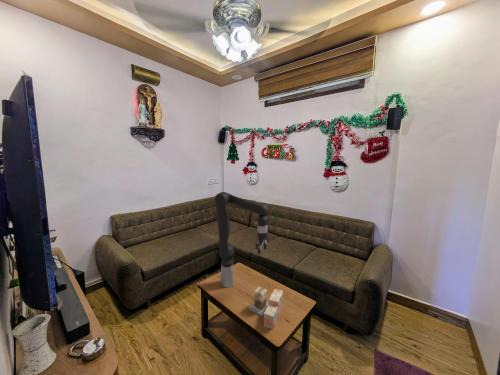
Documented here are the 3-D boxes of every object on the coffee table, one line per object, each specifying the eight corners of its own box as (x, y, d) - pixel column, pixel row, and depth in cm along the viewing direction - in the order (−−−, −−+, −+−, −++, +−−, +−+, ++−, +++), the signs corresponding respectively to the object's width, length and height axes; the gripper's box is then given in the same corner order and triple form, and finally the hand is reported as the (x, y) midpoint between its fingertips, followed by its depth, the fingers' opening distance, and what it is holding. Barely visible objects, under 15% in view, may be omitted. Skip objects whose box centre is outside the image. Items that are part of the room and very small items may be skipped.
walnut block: (254, 306, 142) (254, 298, 141) (258, 301, 147) (259, 293, 146) (261, 310, 139) (261, 302, 138) (266, 305, 144) (266, 297, 142)
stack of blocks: (273, 330, 125) (273, 312, 123) (263, 326, 128) (263, 308, 126) (283, 306, 144) (283, 290, 142) (274, 303, 147) (274, 287, 145)
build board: (248, 309, 141) (248, 307, 141) (258, 298, 151) (258, 297, 151) (262, 316, 135) (262, 315, 135) (271, 305, 145) (271, 304, 145)
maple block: (254, 298, 141) (254, 291, 140) (259, 293, 146) (259, 286, 145) (261, 302, 138) (262, 294, 137) (266, 297, 142) (266, 289, 141)
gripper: (263, 226, 160) (262, 246, 163) (252, 232, 148) (252, 253, 151) (271, 228, 156) (271, 249, 159) (261, 235, 144) (261, 256, 147)
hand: (262, 251), depth 155 cm, fingers open, 8 cm apart
